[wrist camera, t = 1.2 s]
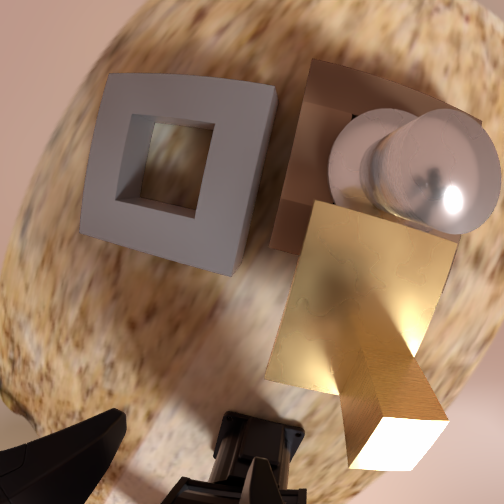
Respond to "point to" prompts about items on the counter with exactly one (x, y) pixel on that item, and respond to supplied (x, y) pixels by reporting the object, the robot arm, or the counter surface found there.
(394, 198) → the steel pin
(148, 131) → the grey square collar
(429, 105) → the walnut socket block
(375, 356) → the brass key
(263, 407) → the counter surface
